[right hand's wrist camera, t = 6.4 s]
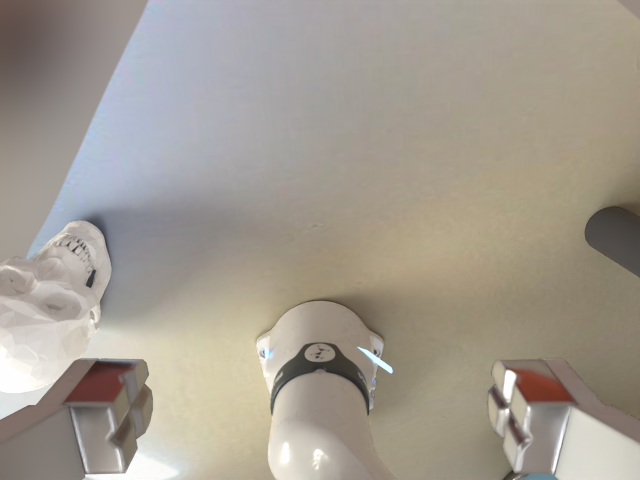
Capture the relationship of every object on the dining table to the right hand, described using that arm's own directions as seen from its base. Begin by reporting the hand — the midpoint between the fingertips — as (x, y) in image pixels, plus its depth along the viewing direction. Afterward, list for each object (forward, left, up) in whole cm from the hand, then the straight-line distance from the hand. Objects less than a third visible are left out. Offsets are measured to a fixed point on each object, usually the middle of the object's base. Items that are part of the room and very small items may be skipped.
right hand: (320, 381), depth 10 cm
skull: (-21, +35, -48) cm, 63 cm away
